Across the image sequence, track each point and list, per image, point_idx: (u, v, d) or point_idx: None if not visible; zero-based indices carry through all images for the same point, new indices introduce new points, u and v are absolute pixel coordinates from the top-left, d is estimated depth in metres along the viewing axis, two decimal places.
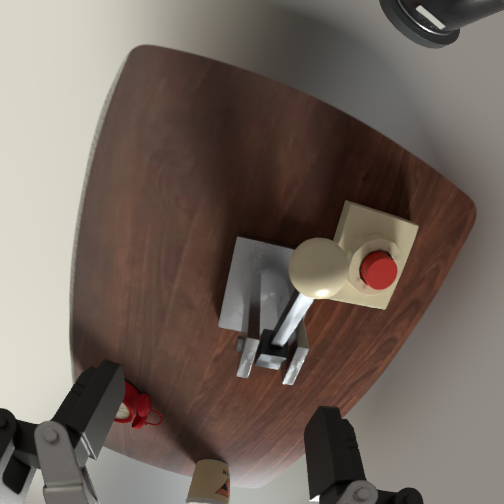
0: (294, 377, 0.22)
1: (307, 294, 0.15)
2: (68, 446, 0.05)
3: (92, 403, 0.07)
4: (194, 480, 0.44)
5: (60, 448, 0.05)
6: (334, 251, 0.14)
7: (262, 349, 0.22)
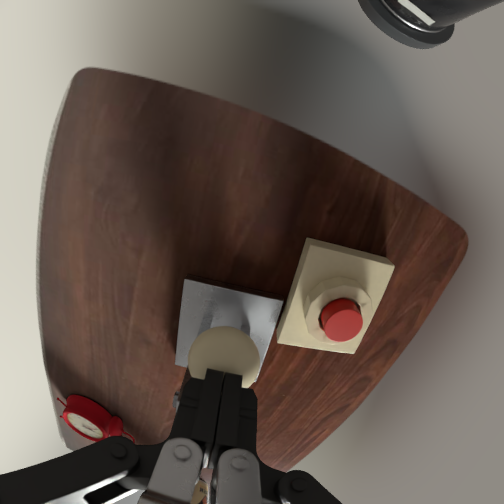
0: None
1: None
2: (195, 469, 0.06)
3: (212, 413, 0.08)
4: None
5: (186, 467, 0.06)
6: (233, 352, 0.11)
7: None
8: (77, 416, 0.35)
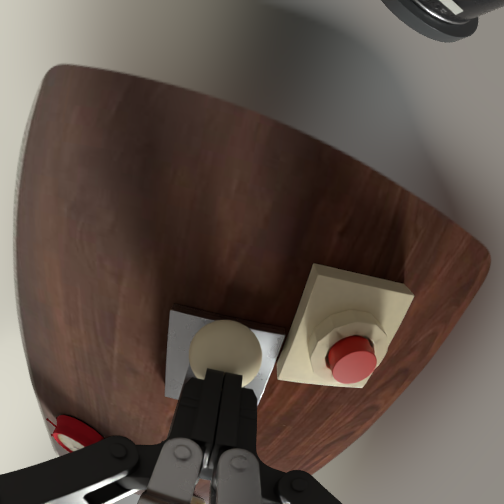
0: None
1: None
2: (195, 469, 0.06)
3: (212, 413, 0.08)
4: None
5: (185, 467, 0.06)
6: (237, 331, 0.12)
7: None
8: (67, 437, 0.31)
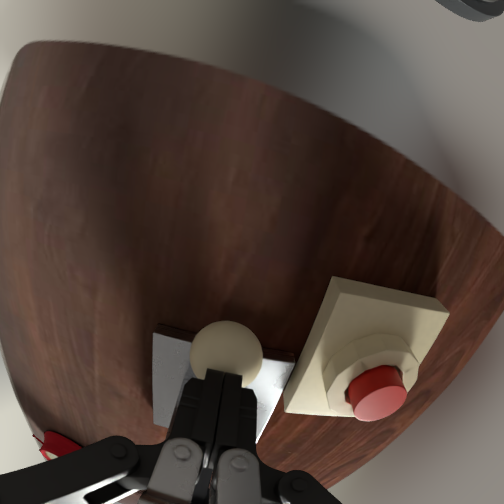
0: None
1: None
2: (195, 469, 0.06)
3: (212, 413, 0.08)
4: None
5: (185, 467, 0.06)
6: (238, 324, 0.13)
7: None
8: (55, 455, 0.26)
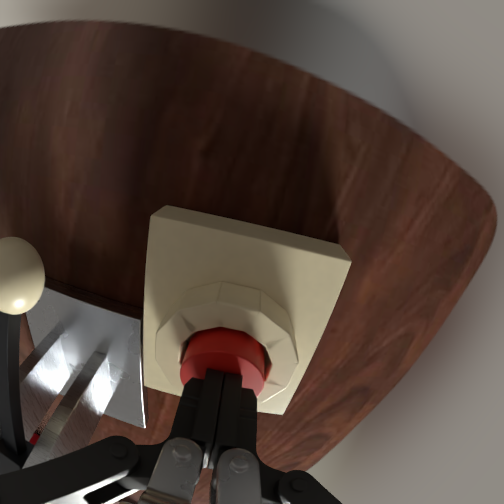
0: None
1: None
2: (195, 469, 0.06)
3: (212, 413, 0.08)
4: None
5: (185, 467, 0.06)
6: (20, 239, 0.09)
7: None
8: None
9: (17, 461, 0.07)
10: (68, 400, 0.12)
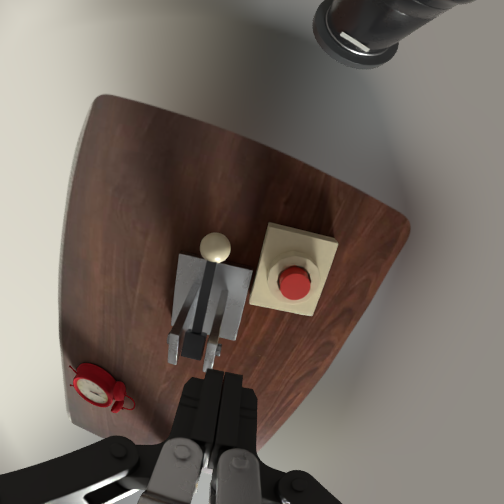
0: (210, 367, 0.29)
1: (208, 250, 0.30)
2: (195, 469, 0.06)
3: (212, 413, 0.08)
4: None
5: (185, 467, 0.06)
6: None
7: (186, 331, 0.29)
8: (86, 381, 0.45)
9: (202, 335, 0.29)
10: (220, 308, 0.34)
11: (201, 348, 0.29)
